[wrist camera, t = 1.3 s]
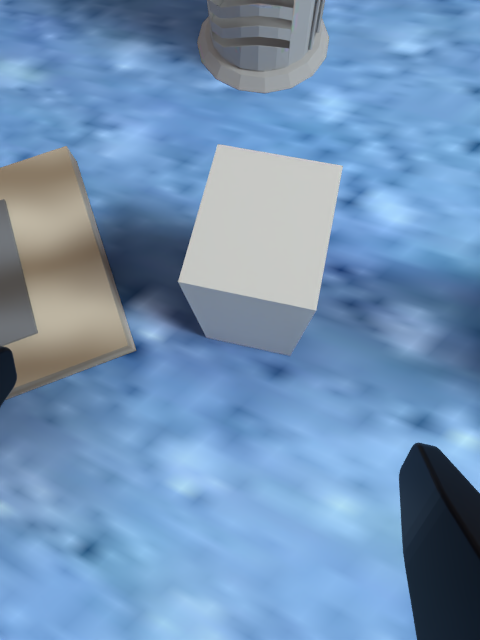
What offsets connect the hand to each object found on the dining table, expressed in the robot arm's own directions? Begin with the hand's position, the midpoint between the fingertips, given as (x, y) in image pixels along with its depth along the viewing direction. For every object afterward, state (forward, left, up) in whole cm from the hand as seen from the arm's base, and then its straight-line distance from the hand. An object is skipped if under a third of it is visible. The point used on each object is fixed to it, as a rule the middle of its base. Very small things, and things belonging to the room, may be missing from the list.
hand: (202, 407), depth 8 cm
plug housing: (+7, -1, -13) cm, 15 cm away
